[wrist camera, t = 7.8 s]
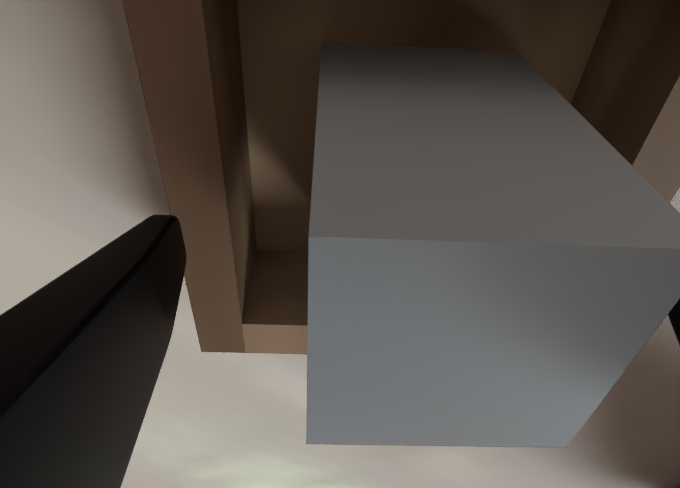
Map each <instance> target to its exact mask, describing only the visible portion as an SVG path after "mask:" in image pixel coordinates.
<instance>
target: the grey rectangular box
mask: <svg viewBox="0 0 680 488" xmlns="http://www.w3.org/2000/svg"><path fill="white" fill-rule="evenodd" d="M679 299H680V213H679V212H678V211H677V210H676V209H675V208H674V207H673V206H672V205H671V204H670V203H669V202H668V201H667V200H666V199H665V198H664V197H663V196H662V195H661V194H660V193H659V192H658V191H657V190H656V189H655V188H654V187H653V186H652V185H651V184H650V183H649V182H648V181H647V180H646V179H645V178H644V177H643V176H642V175H641V174H640V173H639V172H638V171H637V170H636V169H635V168H634V167H633V166H632V165H631V164H630V163H629V162H628V161H627V160H626V159H625V158H624V157H623V156H622V155H621V154H620V153H619V152H618V151H617V150H616V149H615V148H614V147H613V146H612V145H611V144H610V143H609V142H608V141H607V140H606V139H605V138H604V137H603V136H602V135H601V134H600V133H599V132H598V131H597V130H596V129H595V128H594V127H593V126H592V125H591V124H590V123H589V122H588V121H587V120H586V119H585V118H584V117H583V116H582V115H581V114H580V113H579V112H578V111H577V110H576V109H575V108H574V107H573V106H572V105H571V104H570V103H569V102H568V101H567V100H566V99H565V98H564V97H563V96H562V95H561V94H560V93H559V92H558V91H557V90H556V89H555V88H554V87H553V86H552V85H551V84H550V83H549V82H548V81H547V80H546V79H545V78H544V77H543V76H542V75H541V74H540V73H539V72H538V71H537V70H536V69H535V68H534V67H533V66H532V65H531V64H530V63H529V62H528V61H527V60H526V59H525V58H524V57H523V56H522V55H521V54H520V53H519V52H507V51H487V50H468V49H448V48H429V47H409V46H390V45H371V44H351V43H332V42H321V57H320V72H319V87H318V102H317V117H316V132H315V147H314V163H313V178H312V193H311V208H310V223H309V246H308V340H307V435H306V444H335V445H406V446H477V447H548V448H567V446H568V445H569V444H570V442H571V441H572V440H573V438H574V437H575V436H576V435H577V433H578V432H579V431H580V429H581V428H582V427H583V425H584V424H585V423H586V421H587V420H588V419H589V417H590V416H591V415H592V413H593V412H594V411H595V409H596V408H597V407H598V406H599V404H600V403H601V402H602V400H603V399H604V398H605V396H606V395H607V394H608V392H609V391H610V390H611V388H612V387H613V386H614V384H615V383H616V382H617V380H618V379H619V378H620V377H621V375H622V374H623V373H624V371H625V370H626V369H627V367H628V366H629V365H630V363H631V362H632V361H633V359H634V358H635V357H636V355H637V354H638V353H639V352H640V350H641V349H642V348H643V346H644V345H645V344H646V342H647V341H648V340H649V338H650V337H651V336H652V334H653V333H654V332H655V330H656V329H657V328H658V326H659V325H660V324H661V323H662V321H663V320H664V319H665V317H666V316H667V315H668V313H669V312H670V311H671V309H672V308H673V307H674V305H675V304H676V303H677V301H678V300H679Z"/></svg>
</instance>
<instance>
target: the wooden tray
mask: <svg viewBox="0 0 680 488" xmlns="http://www.w3.org/2000/svg"><path fill="white" fill-rule="evenodd" d="M123 5H124V9H125V14H126V18H127V22H128V27H129V31H130V36H131V40H132V45H133V49H134V54H135V58H136V63H137V67H138V71H139V76H140V80H141V85H142V89H143V94H144V98H145V103H146V107H147V112H148V116H149V120H150V125H151V129H152V134H153V138H154V143H155V147H156V152H157V156H158V160H159V165H160V169H161V174H162V178H163V183H164V187H165V192H166V196H167V201H168V205H169V209H170V214H171V215H174V216H176V217H177V218H178V219H179V221H180V225H181V229H182V234H183V239H184V244H185V248H186V256H187V257H186V267H185V272H184V276H185V281H186V285H187V290H188V294H189V299H190V303H191V307H192V312H193V316H194V321H195V325H196V330H197V334H198V339H199V343H200V347H201V352H237V353H279V354H307V340H308V246H309V223H310V208H311V193H312V178H313V163H314V147H315V132H316V117H317V102H318V87H319V72H320V57H321V42H332V43H351V44H371V45H390V46H409V47H429V48H448V49H468V50H487V51H507V52H519V53H520V54H521V55H522V56H523V57H524V58H525V59H526V60H527V61H528V62H529V63H530V64H531V65H532V66H533V67H534V68H535V69H536V70H537V71H538V72H539V73H540V74H541V75H542V76H543V77H544V78H545V79H546V80H547V81H548V82H549V83H550V84H551V85H552V86H553V87H554V88H555V89H556V90H557V91H558V92H559V93H560V94H561V95H562V96H563V97H564V98H565V99H566V100H567V101H568V102H569V103H570V104H571V105H572V106H573V107H574V108H575V109H576V110H577V111H578V112H579V113H580V114H581V115H582V116H583V117H584V118H585V119H586V120H587V121H588V122H589V123H590V124H591V125H592V126H593V127H594V128H595V129H596V130H597V131H598V132H599V133H600V134H601V135H602V136H603V137H604V138H605V139H606V140H607V141H608V142H609V143H610V144H611V145H612V146H613V147H614V148H615V149H616V150H617V151H618V152H619V153H620V154H621V155H622V156H623V157H624V158H625V159H626V160H627V161H628V162H629V163H630V164H631V165H632V166H633V167H634V168H635V169H636V170H637V171H638V172H639V173H640V174H641V175H642V176H643V177H644V178H645V179H646V180H647V181H648V182H649V183H650V184H651V185H652V186H653V187H654V188H655V189H656V190H657V191H658V192H659V193H660V194H661V195H662V196H663V197H664V198H665V199H666V200H667V201H668V202H669V203H670V202H671V200H672V198H673V197H674V195H675V194H676V192H677V190H678V189H679V187H680V0H123Z"/></svg>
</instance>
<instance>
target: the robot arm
mask: <svg viewBox="0 0 680 488" xmlns="http://www.w3.org/2000/svg"><path fill="white" fill-rule="evenodd" d="M186 257H187V256H186V248H185V244H184V239H183V234H182V229H181V225H180V221H179V219H178V218H177V217H176V216H174V215H152V216H150V217H148V218H147V219H145V220H144V221H142V222H141V223H139V224H138V225H136V226H135V227H133V228H132V229H130V230H129V231H127V232H126V233H124V234H123V235H121V236H120V237H118V238H117V239H115V240H113V241H112V242H110V243H109V244H107V245H106V246H104V247H103V248H101V249H100V250H98V251H97V252H95V253H94V254H92V255H91V256H89V257H88V258H86V259H85V260H83V261H82V262H80V263H79V264H77V265H76V266H74V267H73V268H71V269H70V270H68V271H67V272H65V273H64V274H62V275H61V276H59V277H57V278H56V279H54V280H53V281H51V282H50V283H48V284H47V285H45V286H44V287H42V288H41V289H39V290H38V291H36V292H35V293H33V294H32V295H30V296H29V297H27V298H26V299H24V300H23V301H21V302H20V303H18V304H17V305H15V306H14V307H12V308H11V309H9V310H8V311H6V312H4V313H3V314H1V315H0V488H120V487H121V484H122V481H123V478H124V475H125V473H126V470H127V467H128V464H129V461H130V458H131V455H132V452H133V449H134V446H135V443H136V440H137V437H138V434H139V431H140V428H141V425H142V422H143V419H144V417H145V414H146V411H147V408H148V405H149V402H150V399H151V396H152V393H153V390H154V387H155V384H156V381H157V378H158V375H159V372H160V369H161V366H162V363H163V361H164V358H165V355H166V352H167V348H168V345H169V342H170V339H171V334H172V330H173V326H174V321H175V316H176V311H177V306H178V301H179V296H180V291H181V287H182V282H183V277H184V272H185V267H186ZM668 316H669V319H670V321H671V324H672V327H673V329H674V332H675V334H676V337H677V340H678V342H679V345H680V299H679V300H678V301H677V303H676V304H675V305H674V307H673V308H672V309H671V311H670V312H669V313H668Z"/></svg>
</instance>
